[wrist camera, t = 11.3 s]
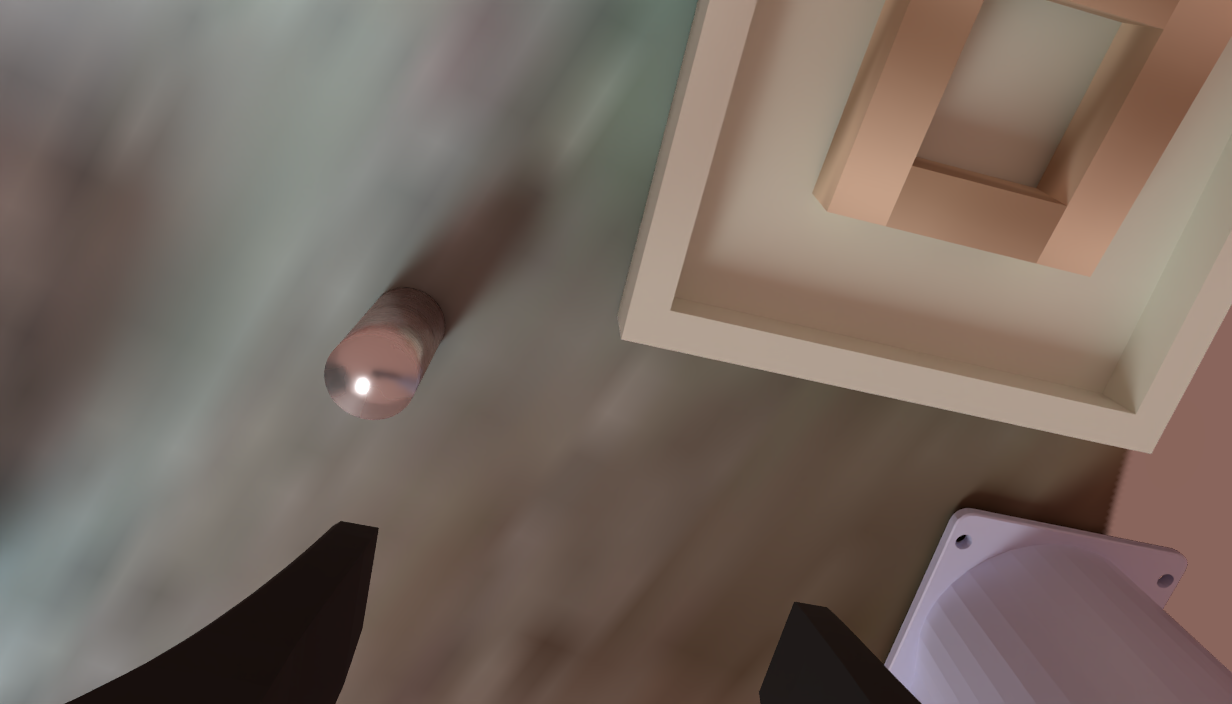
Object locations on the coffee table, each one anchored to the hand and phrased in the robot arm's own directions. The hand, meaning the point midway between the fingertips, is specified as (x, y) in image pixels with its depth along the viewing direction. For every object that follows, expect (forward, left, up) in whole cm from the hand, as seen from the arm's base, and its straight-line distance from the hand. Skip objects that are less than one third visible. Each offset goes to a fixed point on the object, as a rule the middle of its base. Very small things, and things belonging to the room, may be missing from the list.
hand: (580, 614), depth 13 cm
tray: (+10, -8, -9) cm, 16 cm away
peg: (+1, +5, -9) cm, 11 cm away
